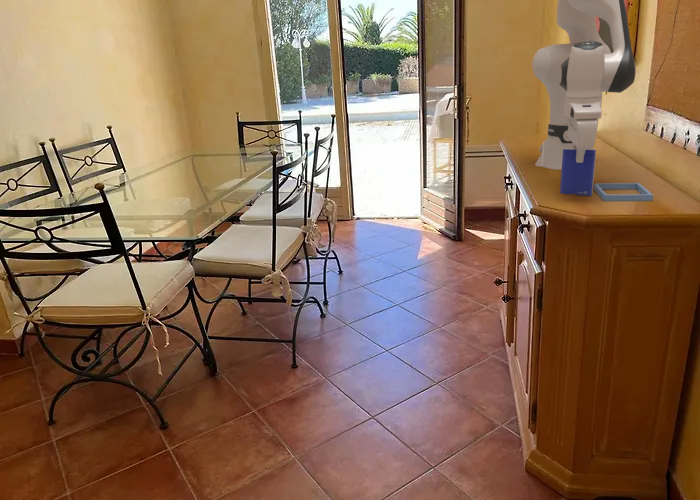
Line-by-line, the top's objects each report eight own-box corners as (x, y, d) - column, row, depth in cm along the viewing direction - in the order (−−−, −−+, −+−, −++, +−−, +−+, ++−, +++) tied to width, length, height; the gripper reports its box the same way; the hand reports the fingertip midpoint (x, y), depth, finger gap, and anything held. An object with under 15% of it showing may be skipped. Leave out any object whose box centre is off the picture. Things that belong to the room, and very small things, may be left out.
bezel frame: (593, 188, 154) (594, 183, 154) (638, 188, 151) (639, 182, 151) (603, 200, 142) (604, 195, 141) (652, 200, 139) (653, 195, 138)
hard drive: (591, 196, 147) (595, 150, 143) (559, 194, 151) (562, 149, 147) (592, 194, 148) (596, 149, 144) (560, 192, 152) (563, 148, 148)
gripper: (564, 104, 152) (560, 153, 157) (575, 113, 133) (570, 168, 138) (588, 103, 150) (584, 153, 155) (603, 112, 132) (597, 168, 137)
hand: (578, 160), depth 146 cm, fingers closed
